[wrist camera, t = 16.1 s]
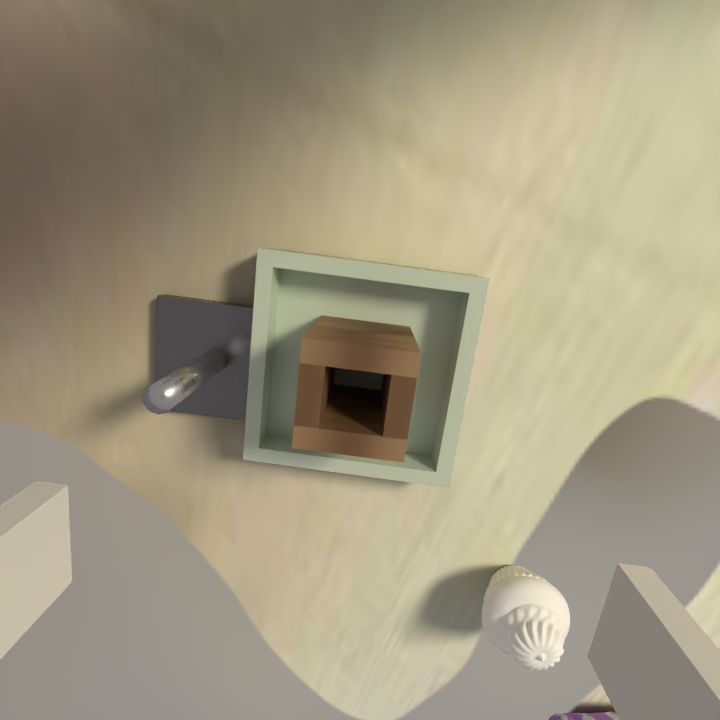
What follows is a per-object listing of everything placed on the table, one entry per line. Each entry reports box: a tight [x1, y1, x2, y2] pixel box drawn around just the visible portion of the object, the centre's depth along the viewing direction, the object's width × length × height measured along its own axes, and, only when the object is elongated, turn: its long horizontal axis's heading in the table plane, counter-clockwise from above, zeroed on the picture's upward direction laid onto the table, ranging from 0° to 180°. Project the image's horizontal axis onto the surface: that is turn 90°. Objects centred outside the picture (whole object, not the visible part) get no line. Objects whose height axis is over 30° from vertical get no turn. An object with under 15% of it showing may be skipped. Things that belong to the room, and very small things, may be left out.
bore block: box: [292, 315, 421, 463], centre depth 27 cm, size 6×6×8 cm
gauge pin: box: [142, 294, 254, 420], centre depth 27 cm, size 8×8×9 cm
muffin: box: [481, 565, 570, 671], centre depth 32 cm, size 6×6×7 cm
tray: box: [243, 248, 489, 488], centre depth 30 cm, size 14×14×3 cm
